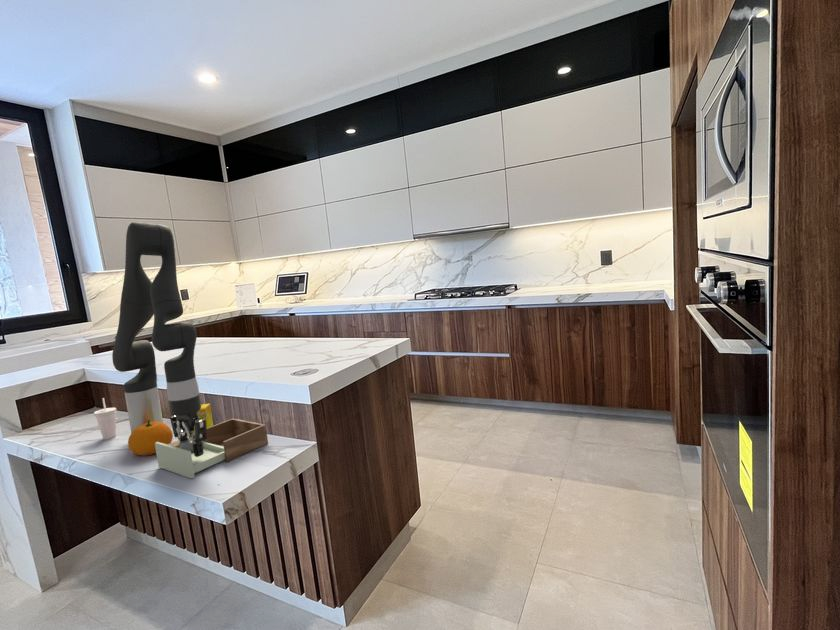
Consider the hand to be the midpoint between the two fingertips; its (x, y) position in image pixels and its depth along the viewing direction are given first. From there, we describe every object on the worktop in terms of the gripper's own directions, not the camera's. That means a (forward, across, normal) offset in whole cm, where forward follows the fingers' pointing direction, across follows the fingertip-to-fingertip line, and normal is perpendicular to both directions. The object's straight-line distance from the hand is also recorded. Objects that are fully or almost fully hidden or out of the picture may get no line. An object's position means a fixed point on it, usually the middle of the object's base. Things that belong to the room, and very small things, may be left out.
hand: (192, 453), depth 118 cm
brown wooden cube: (+3, +11, -2) cm, 12 cm away
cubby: (+3, 0, -11) cm, 11 cm away
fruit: (+3, +24, 0) cm, 24 cm away
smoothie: (+3, +54, 0) cm, 54 cm away
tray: (+3, 0, -2) cm, 4 cm away
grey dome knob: (-1, 0, 0) cm, 1 cm away
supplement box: (+3, +17, -12) cm, 21 cm away
